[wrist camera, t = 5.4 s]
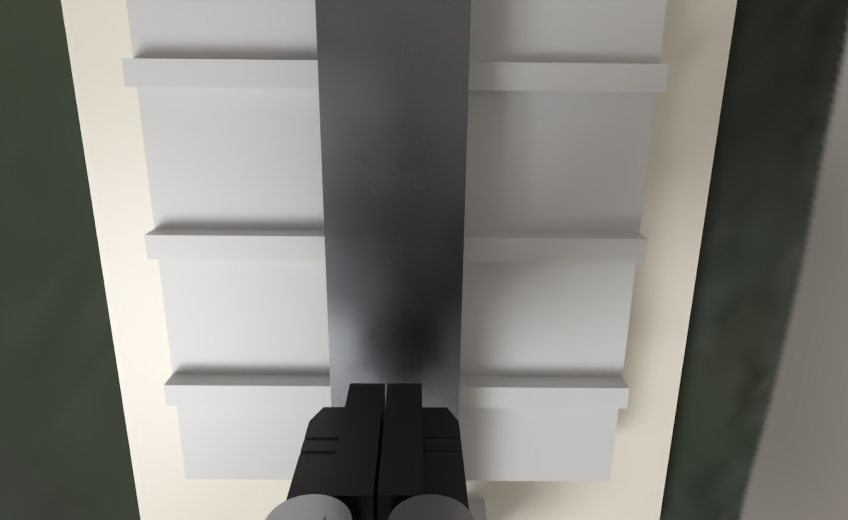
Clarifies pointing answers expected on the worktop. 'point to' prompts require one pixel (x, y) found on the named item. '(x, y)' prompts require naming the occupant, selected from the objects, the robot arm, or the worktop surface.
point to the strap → (394, 190)
